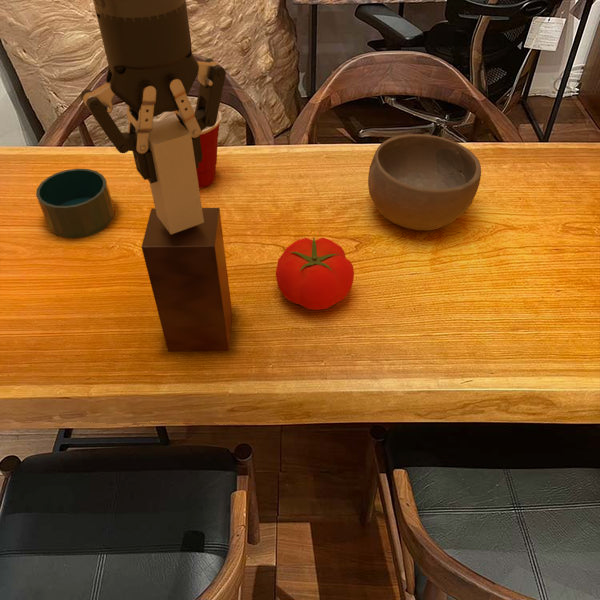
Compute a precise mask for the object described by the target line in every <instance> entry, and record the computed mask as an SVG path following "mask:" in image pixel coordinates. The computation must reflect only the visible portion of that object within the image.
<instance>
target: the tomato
mask: <svg viewBox="0 0 600 600" xmlns="http://www.w3.org/2000/svg"><path fill="white" fill-rule="evenodd" d="M354 269H355V268H354V266H353V264H352V262H351V260H349V259H348V258H346V253H345V250H344V248H343V247H342V246H341V245H339V244H338V243H336V242H334V241H333V240H331V239H329V238H325V237H320V238H318V239H315V237H313V238H312V239H310V238H308V237H304V238H301V239H297V240H296V241H294V242H292V243H291V244H289V245H288V246H287V247H286V248H285V249H284V251H283V253H282V254H281V255H280V256H279V258H278V260H277V264H276V269H275V279H276V283H277V288H278V290H279V291H280V292H281V294H282V295H283V296H284V297H285V299H286V300H288V301H289V302H291V303H293V304H295V305H296V304H297V305H301V306H302V307H304V308H305V309H307V310H314V311H317V310H327V309H329V308H331V307H333V306H334V305H336V304H337V303H340V302H341V301H343V300H345V298H346V297H347V296H348V295H349V292H350V291H351V289H352V287H353V283H354V276H355V271H354Z"/></svg>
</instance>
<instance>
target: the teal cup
mask: <svg viewBox="0 0 600 600" xmlns="http://www.w3.org/2000/svg"><path fill="white" fill-rule="evenodd" d="M35 195H36V196H35V197H36V199H37V202H38V204H39V206H40V209H41V212H42V214H43V217H44V219H45V222H46V224H47V226H48V228H49V230H50V231H51V232H52V233H53V234H54V235H56V236H58V237H61V238H65V239H81V238H86V237H89V236H94V235H96V234H98V233H100V232H102V231H103V230H105V229H106V228H108V227H109V225H110V224H111V223H112V222H113V220H114V218H115V207H114V203H113V199H112V196H111V193H110V189H109V185H108V182H107V179H106V178H105V176H104V174H102V173H100V171H99V172H98V171H97V170H93V169H90V168H72V169H65V170H61V171H59V172H56V173H54V174H51V175H49V176H48V177H46V178H45V179H44V180H43V181H41V182H40V183H39V185H38V187H37V188H36V193H35Z"/></svg>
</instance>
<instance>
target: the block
mask: <svg viewBox="0 0 600 600" xmlns="http://www.w3.org/2000/svg"><path fill="white" fill-rule="evenodd" d="M149 149H150V150H151V152H152V157H153V162H154V166H155V171H156V176H157V182H155V183H150V182H149V186H150V191H151V196H152V200H153V205H154V208H155V210H156V214H157V217H158V218H159V219H160V221H161V222H162V223H163V225H164V226H165V227H166V229H167V230H168V231H169V233H170V234H174V233H177V232H179V231H182V230H185V229H188V228H190V227H193V226H196V225H199V224H201V223H204V219H203V212H202V208H203V206H202V200H201V193H200V192H201V191H200V188H199V185H198V178H197V171H196V164H195V157H194V150H193V144H192V137H191V133H190V132H189V131H188V130H187V129H186V128H185V127H184V126H183V125H182V124H181V123H180V122H179V121H178V120H177V119H176V118H175V117H172V118H168V119H165V120H161V121H158V122H157V121H153V126H152V131H150V136H149Z"/></svg>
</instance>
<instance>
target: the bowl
mask: <svg viewBox="0 0 600 600" xmlns="http://www.w3.org/2000/svg"><path fill="white" fill-rule="evenodd" d="M481 177H482V166H481V162H480V160H479V159H478V157H477V156H476V155H475V154H474V153H473V151H471V150H470V149H468V148H467V147H465V146H464V145H462V144H461V143H458V142H456V141H454V140H451V139H448V138H446V137H441V136H437V135H433V134H421V133H412V134H411V133H408V134H400V135H396V136H392V137H390V138H388V139H386V140H384V141H383V142H382V143H380V145H379V146H378V147H377V149H376V150H375V152H374V155H373V157H372V160H371V164H370V166H369V171H368V177H367V185H368V186H367V187H368V192H369V196H370V199H371V201H372V203H373V204H374V207H375V208H376V209H377V211H378V212H379V213H380V215H382V216H383V217H384V218H385V219H386V220H388V221H390V222H391V223H393V224H395V225H397V226H400V227H403V228H405V229H409V230H415V231H434V230H437V229H440V228H444V227H446V226H448V225H450V224H451V223H453V222H454V221H456V220H457V219H458V218H460V217H461V216H462V215H463V214H464V213H465V212H466V211H467V210H468V208H470V206H471V205H472V204H473V200H474V199H475V197H476V195H477V193H478V190H479V186H480V183H481Z"/></svg>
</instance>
